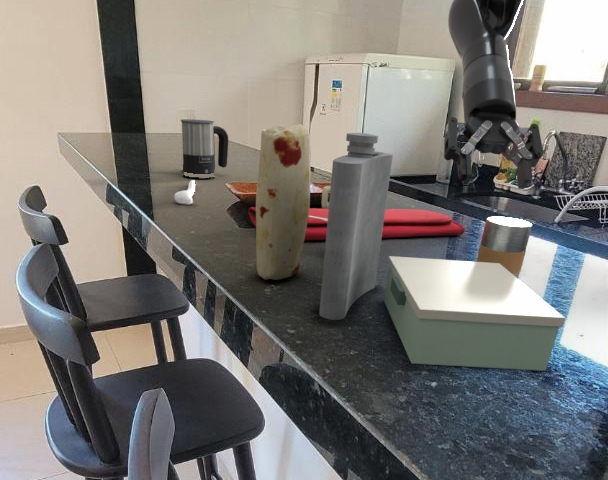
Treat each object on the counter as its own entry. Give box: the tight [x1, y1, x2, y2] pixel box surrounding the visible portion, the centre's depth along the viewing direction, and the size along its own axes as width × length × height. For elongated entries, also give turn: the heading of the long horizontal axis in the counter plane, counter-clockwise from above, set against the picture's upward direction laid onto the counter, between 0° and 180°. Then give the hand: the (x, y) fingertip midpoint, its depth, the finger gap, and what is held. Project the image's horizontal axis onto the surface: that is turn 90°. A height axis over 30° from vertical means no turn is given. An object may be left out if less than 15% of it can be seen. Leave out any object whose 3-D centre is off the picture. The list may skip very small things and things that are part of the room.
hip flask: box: [318, 132, 394, 321], centre depth 65 cm, size 16×4×20 cm, turn 157°
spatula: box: [173, 179, 197, 206], centre depth 126 cm, size 28×4×3 cm, turn 8°
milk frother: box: [180, 118, 229, 180], centre depth 151 cm, size 14×16×15 cm
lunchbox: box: [383, 255, 566, 372], centre depth 61 cm, size 16×18×6 cm
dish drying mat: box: [247, 206, 466, 242], centre depth 104 cm, size 16×41×4 cm, turn 113°
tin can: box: [475, 216, 533, 279], centre depth 74 cm, size 6×6×10 cm
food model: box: [255, 123, 312, 281], centre depth 72 cm, size 10×7×20 cm
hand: (495, 183), depth 78 cm, fingers open, 8 cm apart
